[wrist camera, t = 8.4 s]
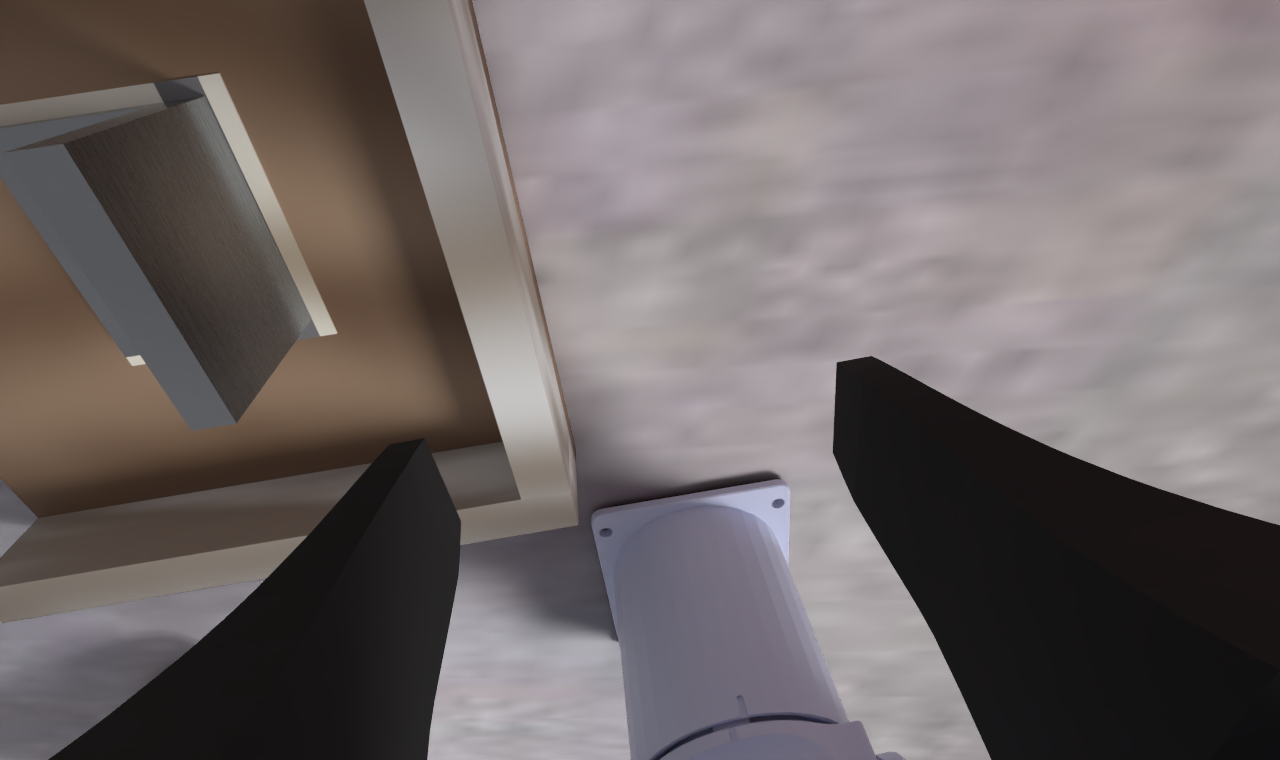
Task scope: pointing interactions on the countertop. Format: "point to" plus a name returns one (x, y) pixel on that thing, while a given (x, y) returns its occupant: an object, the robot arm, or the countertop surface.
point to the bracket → (162, 246)
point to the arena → (324, 276)
